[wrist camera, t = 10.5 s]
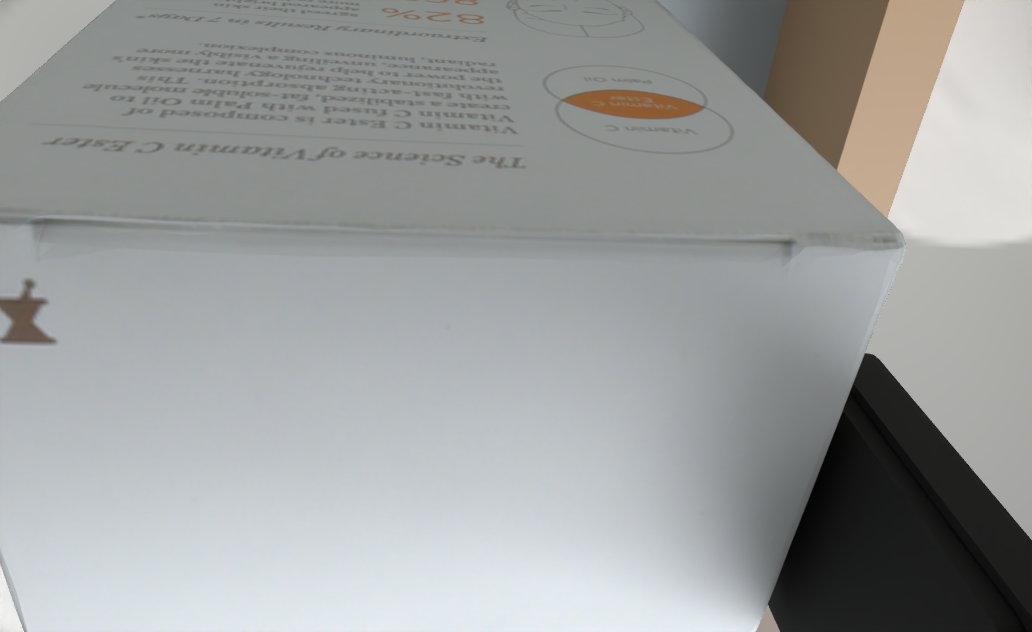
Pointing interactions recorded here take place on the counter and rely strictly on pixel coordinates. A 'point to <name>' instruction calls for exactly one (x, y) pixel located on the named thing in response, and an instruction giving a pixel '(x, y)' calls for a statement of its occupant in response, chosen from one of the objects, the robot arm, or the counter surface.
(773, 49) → the arena
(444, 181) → the small box
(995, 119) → the counter surface
